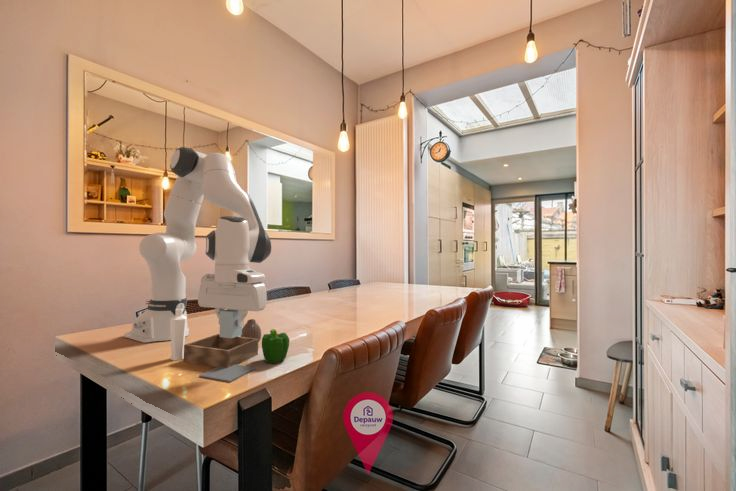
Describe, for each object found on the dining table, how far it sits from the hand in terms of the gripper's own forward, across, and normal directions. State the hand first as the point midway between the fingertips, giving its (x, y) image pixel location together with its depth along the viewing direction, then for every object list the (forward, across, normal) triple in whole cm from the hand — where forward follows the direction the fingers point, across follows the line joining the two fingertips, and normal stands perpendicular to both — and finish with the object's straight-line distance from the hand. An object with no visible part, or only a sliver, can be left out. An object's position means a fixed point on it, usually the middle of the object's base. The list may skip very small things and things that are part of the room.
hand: (231, 325), depth 89 cm
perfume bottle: (+13, -22, +4) cm, 26 cm away
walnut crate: (+13, -10, +9) cm, 19 cm away
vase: (+13, -11, +24) cm, 29 cm away
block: (+3, 0, 0) cm, 3 cm away
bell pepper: (+13, +6, +13) cm, 19 cm away
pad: (+13, 0, 0) cm, 13 cm away
